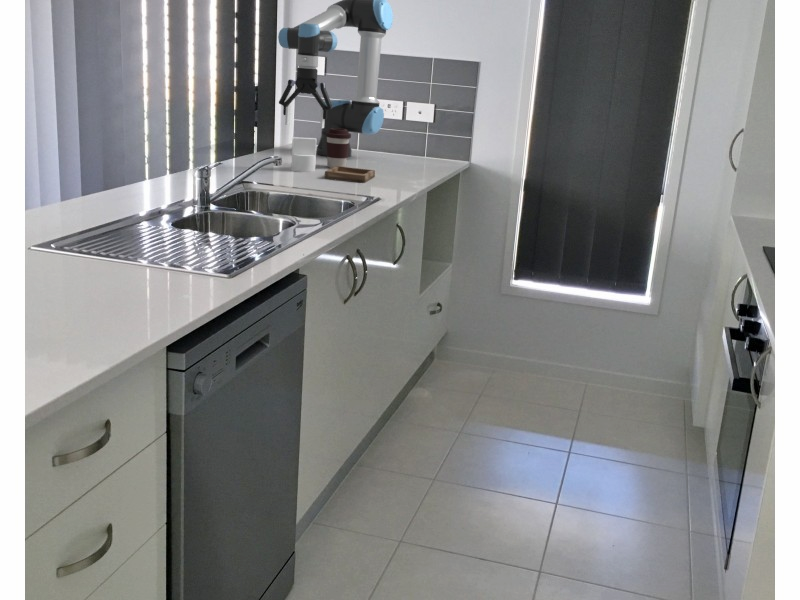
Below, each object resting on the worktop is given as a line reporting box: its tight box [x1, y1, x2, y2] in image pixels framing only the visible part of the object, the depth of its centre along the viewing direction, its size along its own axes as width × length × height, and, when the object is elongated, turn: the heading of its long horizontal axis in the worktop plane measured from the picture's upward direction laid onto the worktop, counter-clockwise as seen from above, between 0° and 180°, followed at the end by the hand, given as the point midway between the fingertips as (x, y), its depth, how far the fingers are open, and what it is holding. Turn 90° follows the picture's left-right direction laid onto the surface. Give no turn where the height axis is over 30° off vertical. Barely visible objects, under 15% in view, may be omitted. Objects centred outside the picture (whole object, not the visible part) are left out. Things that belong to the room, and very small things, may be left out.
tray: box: [324, 166, 376, 184], centre depth 314 cm, size 15×15×2 cm
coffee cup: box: [325, 128, 352, 169], centre depth 333 cm, size 10×10×15 cm
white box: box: [290, 136, 317, 173], centre depth 322 cm, size 9×9×12 cm
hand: (304, 126), depth 318 cm, fingers open, 13 cm apart
